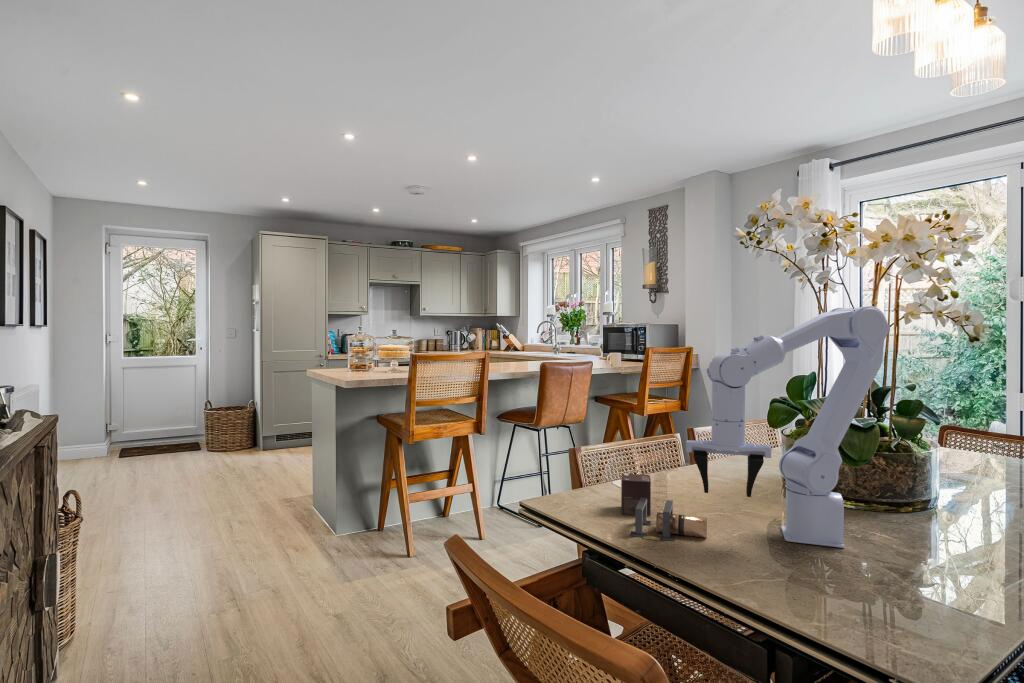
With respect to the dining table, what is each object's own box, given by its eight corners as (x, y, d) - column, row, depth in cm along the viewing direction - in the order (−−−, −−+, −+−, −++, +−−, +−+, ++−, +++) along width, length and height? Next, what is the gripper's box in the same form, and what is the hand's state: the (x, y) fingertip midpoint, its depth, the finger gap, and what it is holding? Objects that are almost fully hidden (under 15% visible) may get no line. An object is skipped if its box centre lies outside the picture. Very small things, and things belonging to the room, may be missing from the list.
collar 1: (651, 522, 116) (651, 497, 116) (646, 537, 108) (646, 510, 108) (636, 520, 117) (636, 496, 117) (629, 535, 109) (630, 509, 109)
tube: (706, 531, 110) (707, 513, 110) (706, 541, 107) (706, 523, 106) (658, 526, 113) (657, 508, 113) (656, 535, 110) (655, 517, 109)
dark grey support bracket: (677, 525, 115) (677, 500, 115) (674, 541, 106) (674, 513, 106) (662, 523, 116) (662, 498, 116) (657, 539, 107) (657, 511, 107)
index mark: (660, 539, 107) (660, 537, 107) (659, 540, 106) (659, 539, 106) (643, 537, 108) (643, 535, 108) (643, 538, 107) (643, 536, 107)
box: (650, 517, 120) (651, 481, 120) (621, 515, 121) (621, 479, 121) (649, 508, 126) (650, 474, 126) (621, 506, 127) (621, 472, 127)
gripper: (769, 418, 108) (768, 491, 109) (688, 414, 113) (687, 484, 113) (772, 424, 102) (771, 502, 102) (686, 419, 107) (685, 493, 107)
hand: (727, 493), depth 107 cm, fingers open, 7 cm apart
